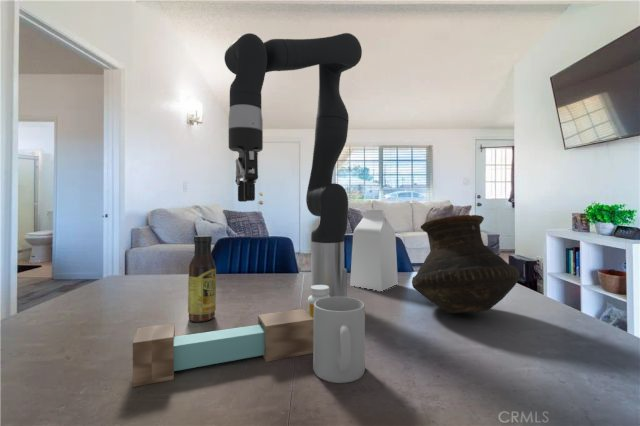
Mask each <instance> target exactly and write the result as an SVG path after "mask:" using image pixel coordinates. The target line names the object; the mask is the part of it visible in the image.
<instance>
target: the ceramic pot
mask: <svg viewBox="0 0 640 426" xmlns="http://www.w3.org/2000/svg"><path fill="white" fill-rule="evenodd" d="M484 219H485V217H484V216H482V215H479V214H478V215H477V214H473V215H472V214H471V215H470V214H462V215H461V214H459V215H450V216H445V217H443V216H442V217H438V218H434V219H431V220H429V221H426V222H424V223H423V224H421V226H420V229H421V230H422V231H424V232H425V233H426V235H427V239H428V245H429V253H428V254H427V256H426V258H425V259H424V262H423V264H421V265H420V266H419V269H418V270H417V273H416V274H415V275H414V276H413V277H412V280H411V283H412V284H411V285H412V289H415V291H416V292H417V293H419V294H420V295H421V296H423V297H424V298H425V299H427V300H428V301H429V302H431V303H432V304H433V305H436V306H437V307H439V308H440V309H442V310H443V311H445V312H446V313H448V314H460V313H475V312H477V313H478V312H485V311H490V310H491V309H492V308H493V307H494V306H496V305H497V304H498V303H499V302H501V301H502V300H503V299H504V298H505V297H506V296H507V294H509V293H510V291H511V290H512V289H513V288H514V287H515V286H516V285H517V283H518V282H519V280H520V279H521V277H520V271H519V270H518V268H516V267H515V266H514V265H511V264H509V263H508V262H506V260H505V259H504V258H502V256H500V255H499V254H497V253H495V252H494V251H493V250H492V249H491V248H489V247H488V246H487V245H485V243H484V241H483V237H482V233H481V232H482V231H481V224H482V222H483V221H484Z"/></svg>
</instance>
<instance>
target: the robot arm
mask: <svg viewBox="0 0 640 426" xmlns="http://www.w3.org/2000/svg"><path fill="white" fill-rule="evenodd" d="M362 53H363V49H362V46H361V43H360V40H359V39H358V38H357V37H356V36H355V35H354V34H352V33H349V32H344V33H340V34H336V35H332V36H326V37H317V38H297V39H296V38H271V39H268V40H266V41H263V40H262V38H260V37H259V36H258V35H257V34H255V33H250V32H249V33H244V34H242V35H240V36H239V37H238V38H237V39H236V40H235V41H233V42H232V43H231V44H230V45H229V46H228V47H227V49H226V50H225V53H224V57H223V58H224V63H225V67H227V69H228V70H229V71H230V72H231V73H232V74H234V75H235V77H234V79H233V81H232V83H231V84H230V86H229V110H228V111H229V112H228V149H229V150H230V151H231V152H237V153H238V157H237V158H236V159H235V179H234V180H235V181H234V182H235V184H236V186H237V201H238V202H241V203H243V202H244V203H245V202H250V201H251V202H254V201H256V187H255V186H256V183H257V180H259V179H258V178H259V171H258V168H259V165H258V162H259V161H258V155H259V152H262V151H263V147H264V140H263V139H264V138H263V132H264V131H263V130H264V129H263V127H264V123H263V121H264V120H263V115H262V110H263V109H262V89H263V86H264V81H265V76H266V74H267V73H270V72H285V71H287V72H288V71H297V70H303V69H305V68H310V67H313V66H318V100H317V110H316V111H317V113H316V118H315V119H316V120H315V129H314V145H313V153H312V160H311V161H312V162H311V170H310V176H309V180H308V185H307V191H306V197H305V200H306V208H307V210H308V212H309V213H310V214H311V215H313V216H315V217H319V224H318V227H316V229H314V230H312V231H311V233H310V234H311V235H310V240H311V242H310V248H311V249H310V258H311V259H310V264H311V265H310V267H311V268H310V271H311V272H310V287H311V286H314V285H326V286H329V294H328V295H329V296H330V297H348V270H347V268H345V235H346V233H347V229H348V220H349V198H348V193H347V190H346V188H344V186H343V185H341V184H338V183H336V182H335V183H333V176H334V170H335V167H336V164H337V163H338V162H337V161H338V160H339V158H340V156H341V154H342V152H343V150H344V147H345V145H346V143H347V139H348V132H349V117H350V116H349V112H348V110H347V109H348V108H347V107H346V104H345V103H344V101H343V99H342V96H341V94H340V81H341V76H342V73H343V72H345V71H348V70H350V69H353V68H354V67H356V66H357V65H358V64H359V62H360V61H361V60H362V59H361V58H362V55H363V54H362ZM311 295H312V294H311V293H310V296H311Z"/></svg>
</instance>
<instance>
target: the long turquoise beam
mask: <svg viewBox="0 0 640 426" xmlns="http://www.w3.org/2000/svg"><path fill="white" fill-rule="evenodd" d="M263 355H265V328H264V326H263V325H262V324H260V325H258V324H255V325H249V326H247V325H246V326H241V327H233V328H226V329H219V330H212V331H206V332H198V333H191V334H184V335H177V336H176V335H175V337H174V372H176V371H177V372H178V371H182V370H188V369H193V368H197V367H198V368H199V367H200V368H201V367H205V366H210V365H215V364H220V363H228V362H232V361H237V360H238V361H239V360H243V359H249V358H255V357H259V356H260V357H261V356H263Z"/></svg>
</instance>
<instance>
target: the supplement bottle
mask: <svg viewBox="0 0 640 426" xmlns="http://www.w3.org/2000/svg"><path fill="white" fill-rule="evenodd" d="M311 294H312V295H311ZM328 294H329V286H326V285H314V286H311V285H310V295H309V296H308V298H307V301H306V302H307V303H306V304H307V305H306V309H307V311H306V313H308V314H309V315H310V316H311V317H312V318H313V319H314V303H315V302H316V301H317V300H319V299H322V298H326V297H330V296H329V295H328Z"/></svg>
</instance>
